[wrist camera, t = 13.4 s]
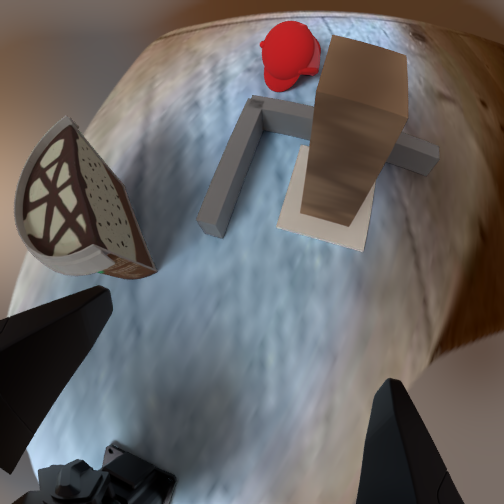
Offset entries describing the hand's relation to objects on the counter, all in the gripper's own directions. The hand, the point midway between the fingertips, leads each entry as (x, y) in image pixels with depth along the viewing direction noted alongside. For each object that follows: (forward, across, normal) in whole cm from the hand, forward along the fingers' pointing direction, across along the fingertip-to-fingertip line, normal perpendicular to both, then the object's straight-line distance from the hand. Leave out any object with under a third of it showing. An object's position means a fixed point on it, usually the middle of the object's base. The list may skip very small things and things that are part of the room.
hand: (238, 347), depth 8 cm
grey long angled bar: (+18, -2, +1) cm, 19 cm away
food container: (+12, +15, +7) cm, 21 cm away
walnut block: (+18, -2, 0) cm, 18 cm away
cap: (+29, +5, -9) cm, 30 cm away
